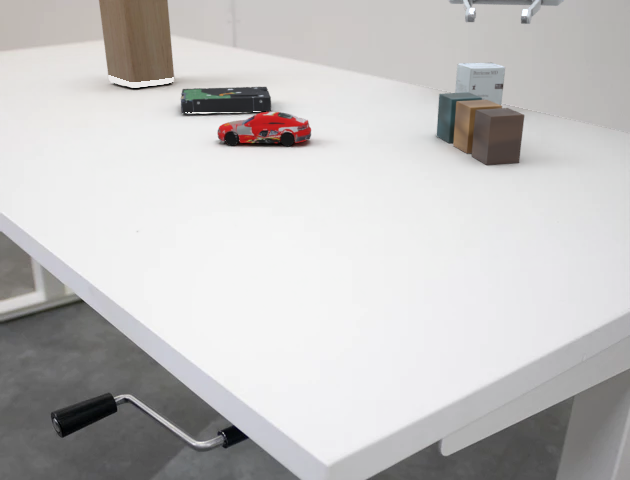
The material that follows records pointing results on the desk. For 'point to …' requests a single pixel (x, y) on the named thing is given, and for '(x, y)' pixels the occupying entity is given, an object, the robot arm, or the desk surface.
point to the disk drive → (225, 99)
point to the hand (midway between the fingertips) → (497, 20)
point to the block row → (480, 127)
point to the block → (137, 39)
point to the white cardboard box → (481, 80)
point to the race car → (266, 129)
